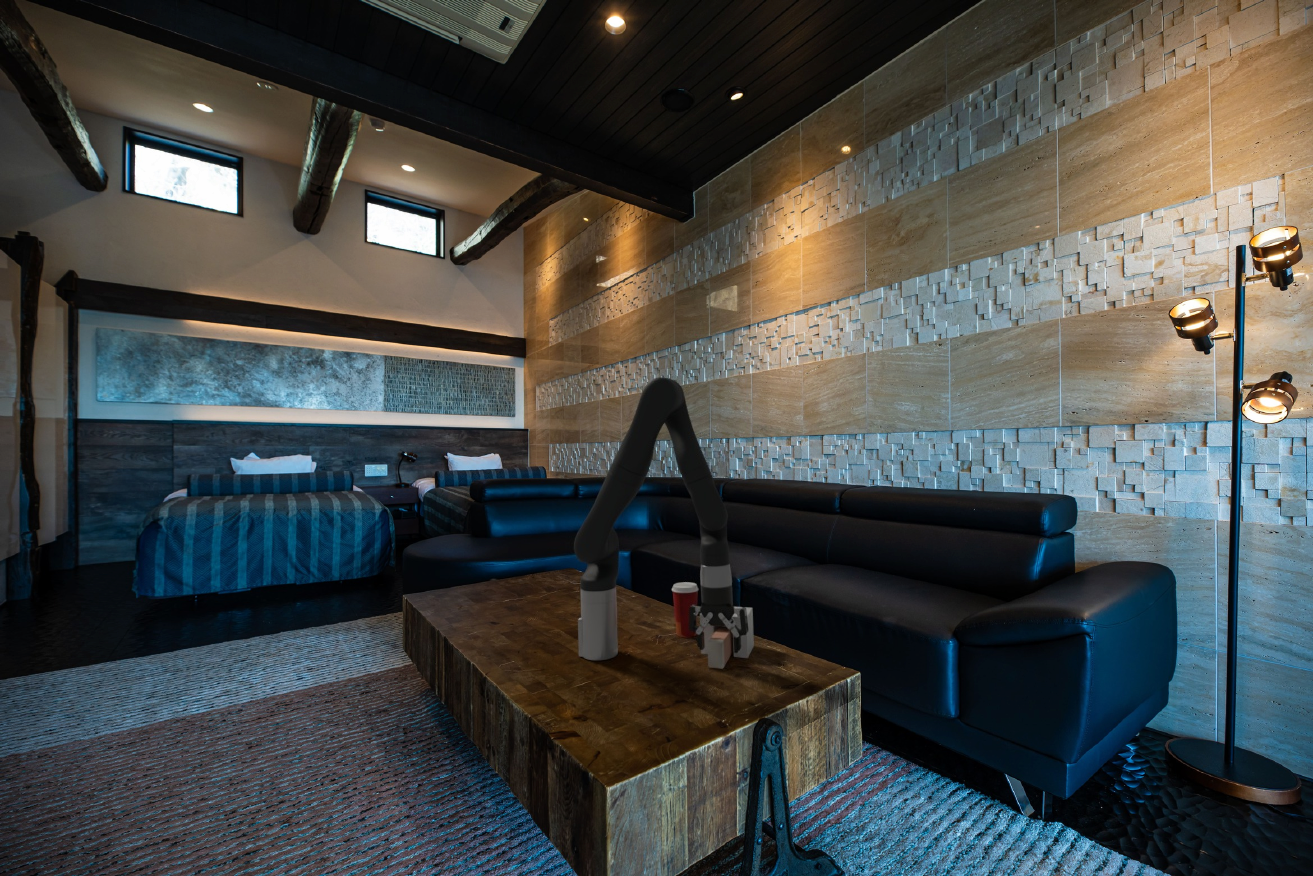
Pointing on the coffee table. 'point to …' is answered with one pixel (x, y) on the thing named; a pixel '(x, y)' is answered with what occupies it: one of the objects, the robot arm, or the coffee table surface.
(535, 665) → the coffee table surface
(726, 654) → the pink white-banded pillar
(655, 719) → the coffee table surface
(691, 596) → the paper cup
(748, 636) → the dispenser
